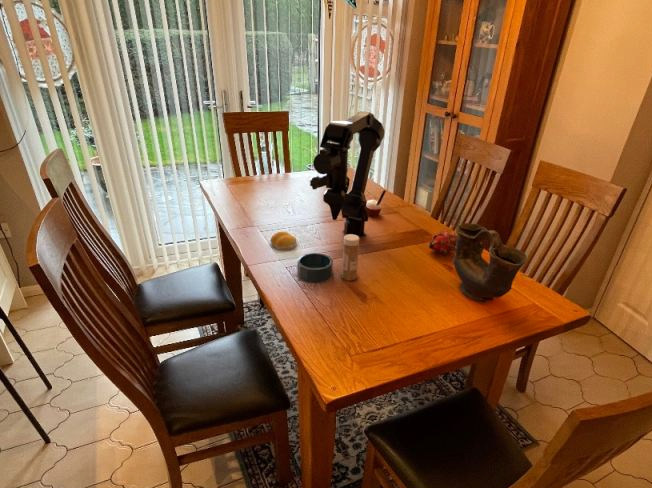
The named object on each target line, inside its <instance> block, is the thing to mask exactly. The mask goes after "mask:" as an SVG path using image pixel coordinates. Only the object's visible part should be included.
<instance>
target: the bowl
mask: <svg viewBox="0 0 652 488" xmlns="http://www.w3.org/2000/svg"><path fill="white" fill-rule="evenodd" d="M296 263H297V268H296V269H297V276H298V277H299V279H300V280H302V281H304V282H307V283H312V284H313V283H315V284H316V283H317V284H318V283H324V282H327V281H329V280H330V279H332V277H333V274H334V273H333V271H334V260H333V258H332V257H331V256H329V255H327V254H325V253H317V252H311V253H305V254H303V255H301V256H299V257H298V259H297V261H296Z"/></svg>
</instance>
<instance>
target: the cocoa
mask: <svg viewBox="0 0 652 488" xmlns="http://www.w3.org/2000/svg"><path fill="white" fill-rule="evenodd" d="M386 192H387V190H386V189H385V190H382V192H381V194H380V196H379V198H378V200H376V199H370V200H366V201H367V204H366V207H367V209H368V211H369V217H372V218H373V217H374V218H375V217H377V216H379V215H380V213H381V211H382V207H383V206H382V205H381V202H382V200H383V199H384V196H385V194H386Z"/></svg>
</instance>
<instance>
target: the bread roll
mask: <svg viewBox="0 0 652 488" xmlns="http://www.w3.org/2000/svg"><path fill="white" fill-rule="evenodd" d="M297 242H298V241H297V238H296V237H295V236H294V235H292V234H290V233H289V232H288V231H284V230H283V231H281V230H280V231H277V232H276V233H273V235H272V236H271V237H270V243H271V245H273V246H274V247H275V248H276V249H278V250H290V249H293V248H295V247H296V246H297Z"/></svg>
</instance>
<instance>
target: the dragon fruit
mask: <svg viewBox="0 0 652 488" xmlns="http://www.w3.org/2000/svg"><path fill="white" fill-rule="evenodd" d="M456 241H457V235H456V232H455V233H454V232H449V231H448V230H445V232H443V231H440V232H438V233H437V234H434V235H432V237H431V240H430V241H429V244H428V248H429V249H430V250H431V251H430V252H431V254H435V255H438V254H443V256H448V255H449V254H450V252H452V253H453V252H455V251H456V250H455V249H456Z"/></svg>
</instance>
